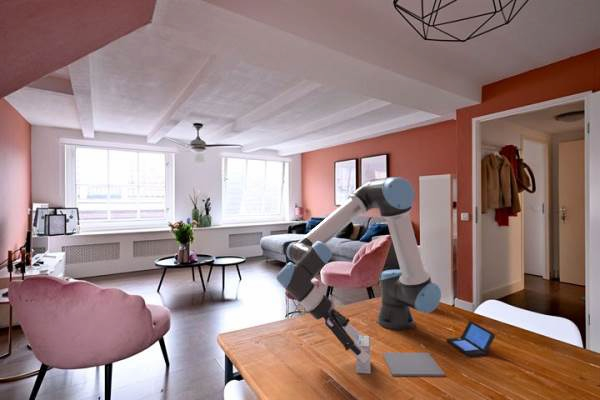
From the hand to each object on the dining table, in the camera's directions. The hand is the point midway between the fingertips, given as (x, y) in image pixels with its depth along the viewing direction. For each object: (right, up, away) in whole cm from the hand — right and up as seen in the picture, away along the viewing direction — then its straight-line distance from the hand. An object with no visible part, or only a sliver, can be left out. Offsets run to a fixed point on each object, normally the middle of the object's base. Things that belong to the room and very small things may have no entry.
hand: (363, 348), depth 99 cm
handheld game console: (+41, -6, +12) cm, 43 cm away
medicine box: (0, -6, 0) cm, 6 cm away
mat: (+16, -6, +1) cm, 17 cm away
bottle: (+40, -5, +57) cm, 70 cm away
